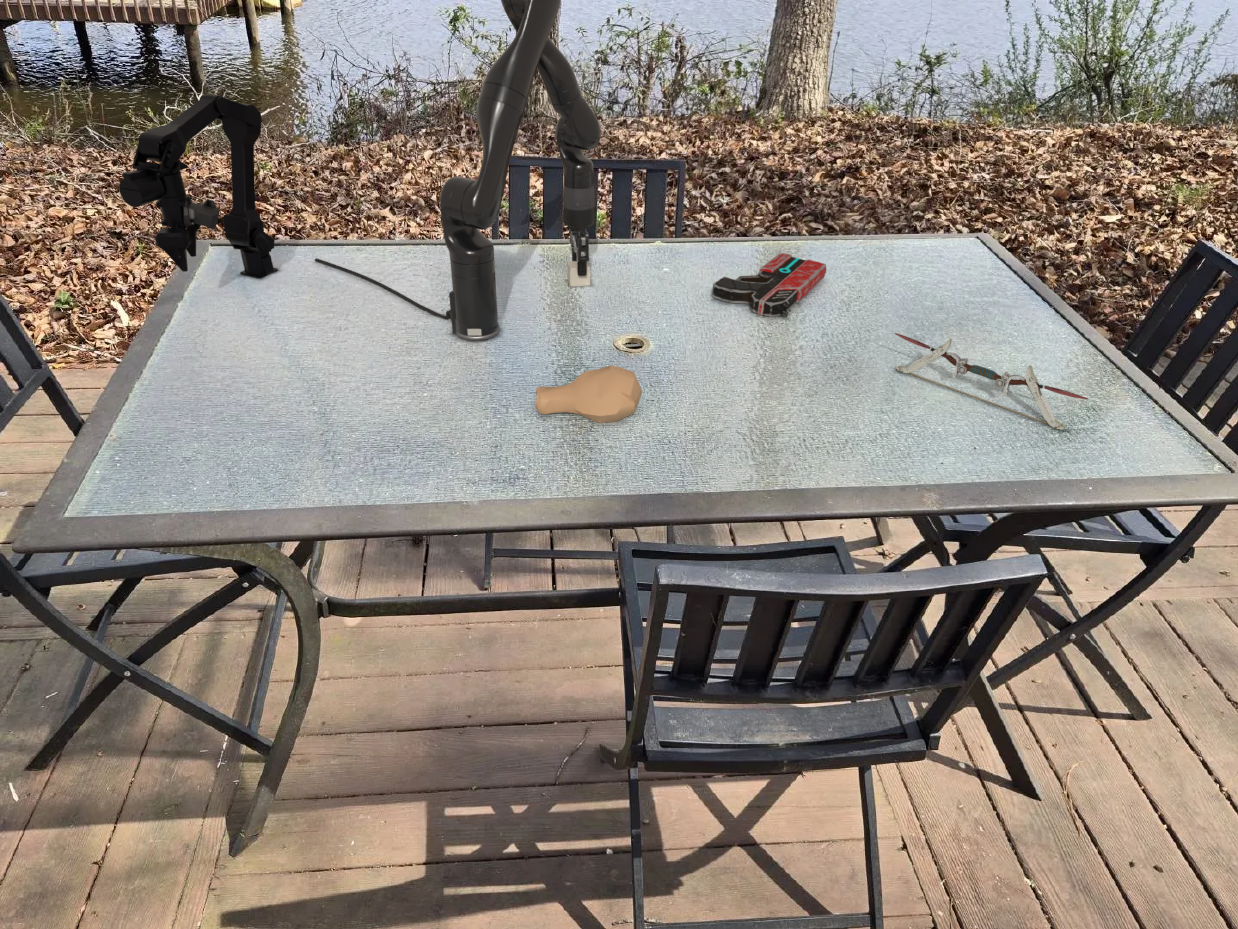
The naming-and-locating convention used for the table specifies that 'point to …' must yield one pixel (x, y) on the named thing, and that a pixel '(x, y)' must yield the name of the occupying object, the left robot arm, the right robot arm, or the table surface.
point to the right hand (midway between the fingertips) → (579, 268)
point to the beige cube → (573, 276)
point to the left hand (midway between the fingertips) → (189, 263)
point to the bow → (1000, 381)
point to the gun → (772, 285)
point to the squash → (594, 395)
